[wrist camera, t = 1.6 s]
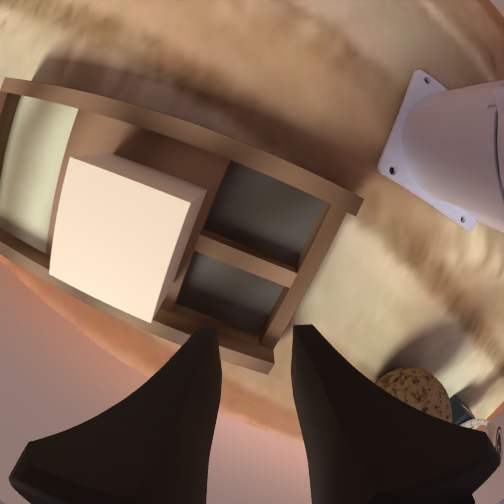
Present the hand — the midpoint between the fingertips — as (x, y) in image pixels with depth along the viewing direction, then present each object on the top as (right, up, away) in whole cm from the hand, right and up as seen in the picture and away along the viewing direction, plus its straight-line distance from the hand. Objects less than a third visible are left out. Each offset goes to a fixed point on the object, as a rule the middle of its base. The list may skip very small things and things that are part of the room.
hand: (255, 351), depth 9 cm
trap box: (-8, +6, +8) cm, 13 cm away
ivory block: (-6, +5, +7) cm, 11 cm away
